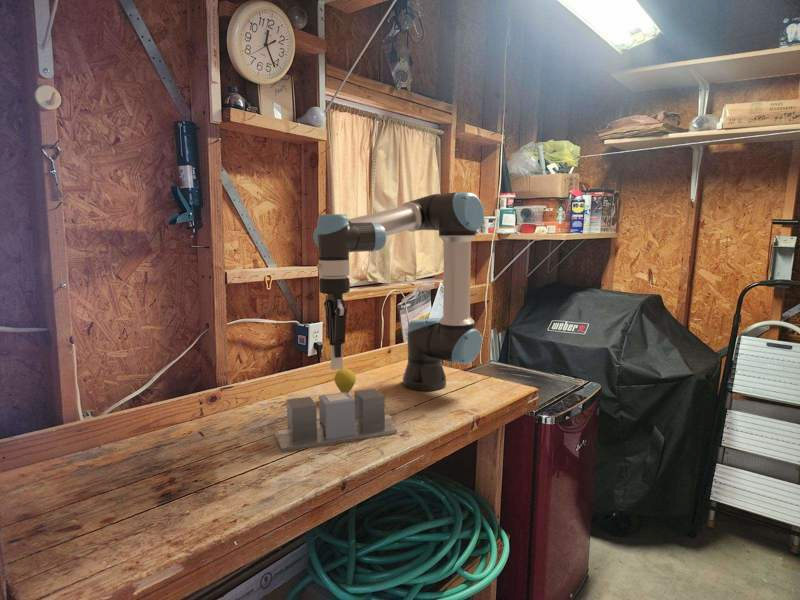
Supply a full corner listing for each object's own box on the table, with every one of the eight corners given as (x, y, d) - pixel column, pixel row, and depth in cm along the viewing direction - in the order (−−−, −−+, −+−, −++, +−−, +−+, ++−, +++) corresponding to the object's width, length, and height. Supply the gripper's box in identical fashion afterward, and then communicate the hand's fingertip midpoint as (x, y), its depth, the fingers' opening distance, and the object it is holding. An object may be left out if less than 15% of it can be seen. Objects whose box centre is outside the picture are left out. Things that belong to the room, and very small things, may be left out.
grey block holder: (383, 420, 140) (383, 385, 138) (397, 433, 130) (397, 396, 129) (275, 436, 128) (273, 399, 127) (281, 452, 119) (280, 412, 118)
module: (346, 424, 134) (346, 391, 133) (355, 434, 127) (354, 399, 126) (319, 428, 131) (318, 394, 130) (326, 438, 124) (326, 403, 123)
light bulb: (345, 404, 152) (345, 373, 151) (330, 400, 156) (329, 369, 155) (360, 399, 157) (360, 368, 156) (345, 394, 161) (344, 365, 160)
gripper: (313, 275, 128) (316, 364, 132) (326, 280, 116) (329, 377, 120) (341, 274, 131) (343, 360, 135) (356, 278, 119) (358, 373, 123)
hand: (336, 368), depth 127 cm, fingers closed
